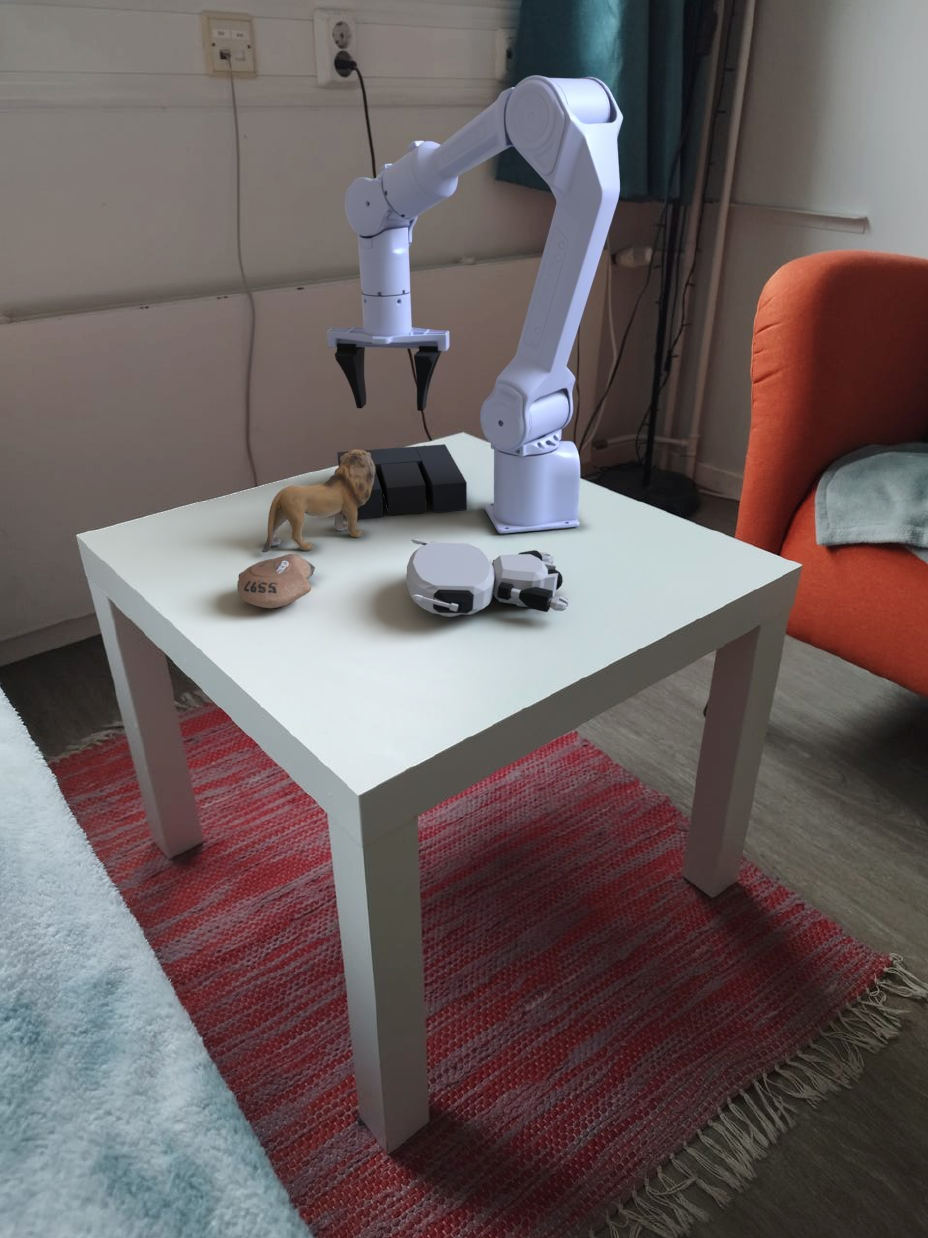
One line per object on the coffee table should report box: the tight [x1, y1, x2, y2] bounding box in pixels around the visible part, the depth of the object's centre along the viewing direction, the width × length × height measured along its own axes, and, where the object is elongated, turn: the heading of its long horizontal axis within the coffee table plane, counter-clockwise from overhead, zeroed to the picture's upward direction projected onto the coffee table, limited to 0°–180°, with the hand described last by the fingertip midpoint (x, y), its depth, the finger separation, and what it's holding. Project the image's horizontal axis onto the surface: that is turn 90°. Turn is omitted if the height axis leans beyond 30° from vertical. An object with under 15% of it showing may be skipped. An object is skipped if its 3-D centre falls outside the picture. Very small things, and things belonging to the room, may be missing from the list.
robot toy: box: [405, 538, 570, 618], centre depth 86 cm, size 12×4×15 cm
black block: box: [380, 462, 427, 516], centre depth 109 cm, size 4×8×4 cm, turn 10°
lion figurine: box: [261, 448, 376, 554], centre depth 98 cm, size 15×5×9 cm, turn 130°
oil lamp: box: [236, 553, 316, 609], centre depth 88 cm, size 9×4×8 cm
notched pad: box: [337, 443, 468, 520], centre depth 111 cm, size 14×14×4 cm
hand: (391, 407), depth 112 cm, fingers open, 7 cm apart
